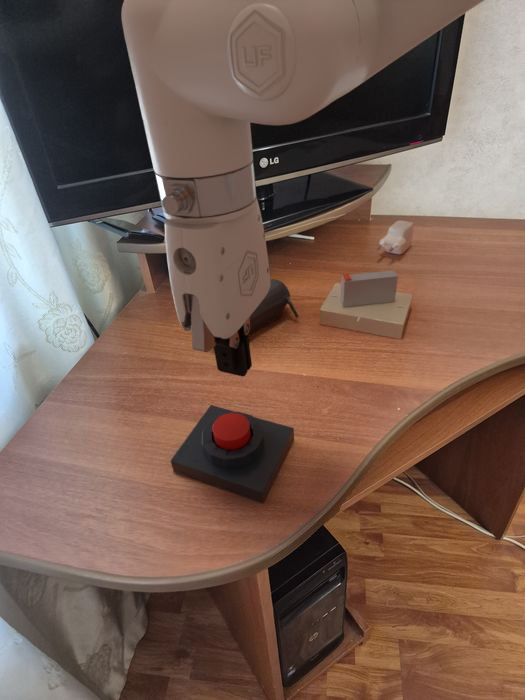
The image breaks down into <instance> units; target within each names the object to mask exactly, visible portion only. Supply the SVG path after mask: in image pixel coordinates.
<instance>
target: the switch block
mask: <svg viewBox="0 0 525 700" xmlns="http://www.w3.org/2000/svg"><path fill="white" fill-rule="evenodd" d="M228 413H238V414H241V415H243V416H245V417H246V418H247V419H248V421H249V424H250V432H251V437H250V440H249V442H248V443H247V444H246V445H245V446H244V447H242V448H240V449H237V450H224V449H222V448H220V447H219V446H218V445H217V444H216V443H215V440H214V435H213V424H214V422H215V421H216V420H217V419H218V418H219V417H220V416H222V415H225V414H228ZM294 441H295V428H294V427H291V426H287V425H285V424H280V423H277V422H274V421H269V420H267V419H263V418H259V417H256V416H254V415H252V414H248V413H245V412H241V411H234V410H231V409H227V408H223V407H220V406H217V405H213V404H210V405H209V407H208V408H207V409H206V411H205V412H204V414H202V416H201V418H199V420H198V422H197V423H196V425H195V426H193V429H192V430H191V431H190V433H189V434H188V436H187V437H186V438H185V440H183V443H182V444H181V445H180V447H179V448H178V449H177V451H176V452H175V453H174V455H173V456H172V458H171V459H170V464H171V467H172V471H173V473H175V474H179V475H181V476H184V477H187V478H189V479H192V480H195V481H198V482H201V483H203V484H206V485H210V486H212V487H215V488H218V489H221V490H223V491H227V492H230V493H232V494H235V495H238V496H241V497H244V498H246V499H248V500H252V501H254V502H258V503H260V504H264V503H265V501H266V499H267V497H268V495H269V493H270V491H271V488H272V486H273V484H274V482H275V480H276V478H277V476H278V474H279V473H280V470H281V468H282V467H283V464H284V461H285V459H286V457H287V455H288V454H289V451H290V449H291V447H292V445H293V443H294Z"/></svg>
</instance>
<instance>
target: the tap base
mask: <svg viewBox="0 0 525 700" xmlns="http://www.w3.org/2000/svg"><path fill="white" fill-rule="evenodd" d="M340 293H341V282H335V283H334V285H333V286H332V288H331V290H330V292H329V293H328V295H327V296H326V298H325V299H324V302H323V303H322V305H321V306H320V308H319V315H318V316H319V319H318V320H319V321H318V324H319V325H323V326H329V327H331V328H332V327H333V328H339V329H344V330H349V331H354V332H359V333H365V334H370V335H375V336H380V337H381V336H382V337H385V338H386V337H387V338H391V339H395V340H396V339H397V340H402V338H403V334H404V331H405V328H406V325H407V322H408V318H409V315H410V312H411V309H412V304H413V298H414V297H413V296H414V293H408V292H401V291H396V295H395V302H389V303H379V304H370V305H360V306H351V307H343V306H342V304H341V302H340Z"/></svg>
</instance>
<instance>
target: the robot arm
mask: <svg viewBox="0 0 525 700" xmlns="http://www.w3.org/2000/svg"><path fill="white" fill-rule="evenodd" d="M483 2H485V0H123V3H122V6H121V14H120V15H121V24H122V30H123V36H124V41H125V44H126V49H127V50H126V51H127V54H128V59H129V63H130V67H131V73H132V76H133V81H134V84H135V85H134V86H135V90H136V96H137V99H138V105H139V109H140V113H141V118H142V122H143V127H144V132H145V136H146V141H147V146H148V150H149V154H150V159H151V163H152V168H153V173H154V176H155V181H156V186H157V190H158V195H159V199H160V204H161V209H162V213H163V217H164V218H165V220H164V222H163V223H164V240H165V241H164V242H165V253H166V261H167V268H168V276H169V282H170V290H171V294H172V299H173V304H174V308H175V312H176V316H177V319H178V321H179V324H180V326H181V328H182V329H183V331H184V332H190V331H191V346H192V349H193V350H194V351H197V352H198V351H199V352H203V353H208V352H210V351H211V350H212V349H213V353H214V356H215V362H216V367H217V370H218V371H219V372H221V373H224V374H225V373H226V374H230V375H235V376H238V377H246V375H247V374H248V371H249V370H250V369H251V368H252V366H253V362H252V355H251V347H250V346H251V345H250V338H249V335H247V334H248V333H249V330H250V316H251V314H252V313H253V312H254V311H255V309H256V308H257V307H258V306H259V304H260V303H261V302H262V300H263V299H264V298H265V296H266V295H267V293H268V291H269V289H270V279H271V275H270V273H271V272H270V263H269V255H268V248H267V241H266V240H267V239H266V234H265V227H264V222H263V218H262V212H261V209H260V205H259V201H258V198H257V186H256V173H255V162H254V153H253V151H254V150H253V141H252V140H253V139H252V129H251V123H252V124H259V125H265V126H286V125H292V124H296V123H300V122H302V121H304V120H306V119H308V118H310V117H312V116H313V115H315V114H316V113H318V112H319V111H321V110H324V108H326V107H328V106H329V105H331V104H332V103H333V102H336V100H338V99H340V98H341V97H343V96H345V95H346V94H348V93H350V92H351V91H353V90H354V89H355V88H357V87H359V86H360V85H361V84H363V83H365V82H366V81H367V80H369V79H370V78H372V77H373V76H374V75H376V74H377V73H379V72H380V71H382V70H383V69H385V68H387V66H389V65H391V64H392V63H394V62H395V61H396V60H398V59H399V58H401V57H402V56H404V55H405V54H407V53H408V52H409V51H411V50H413V49H414V48H416V47H417V46H419V45H420V44H421V43H423V42H424V41H426V40H428V39H429V38H430V37H432V36H433V35H435V34H436V33H437V32H439V31H441V30H443V28H445V27H447V26H448V25H449V24H452V22H454V21H456V20H457V19H458V18H460V17H461V16H463V15H464V14H466V13H468V12H469V11H470V10H472V9H473V8H475V7H477V6H479V4H481V3H483ZM245 335H247V336H245Z"/></svg>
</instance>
